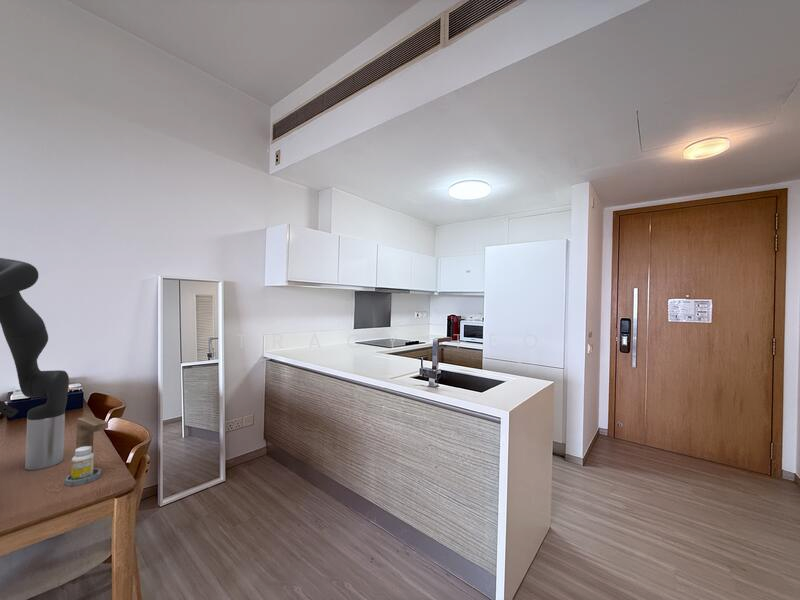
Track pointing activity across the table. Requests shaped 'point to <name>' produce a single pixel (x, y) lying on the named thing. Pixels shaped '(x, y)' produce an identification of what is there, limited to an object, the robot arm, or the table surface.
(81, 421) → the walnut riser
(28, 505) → the table surface
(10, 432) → the table surface
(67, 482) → the locator ring
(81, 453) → the supplement bottle
